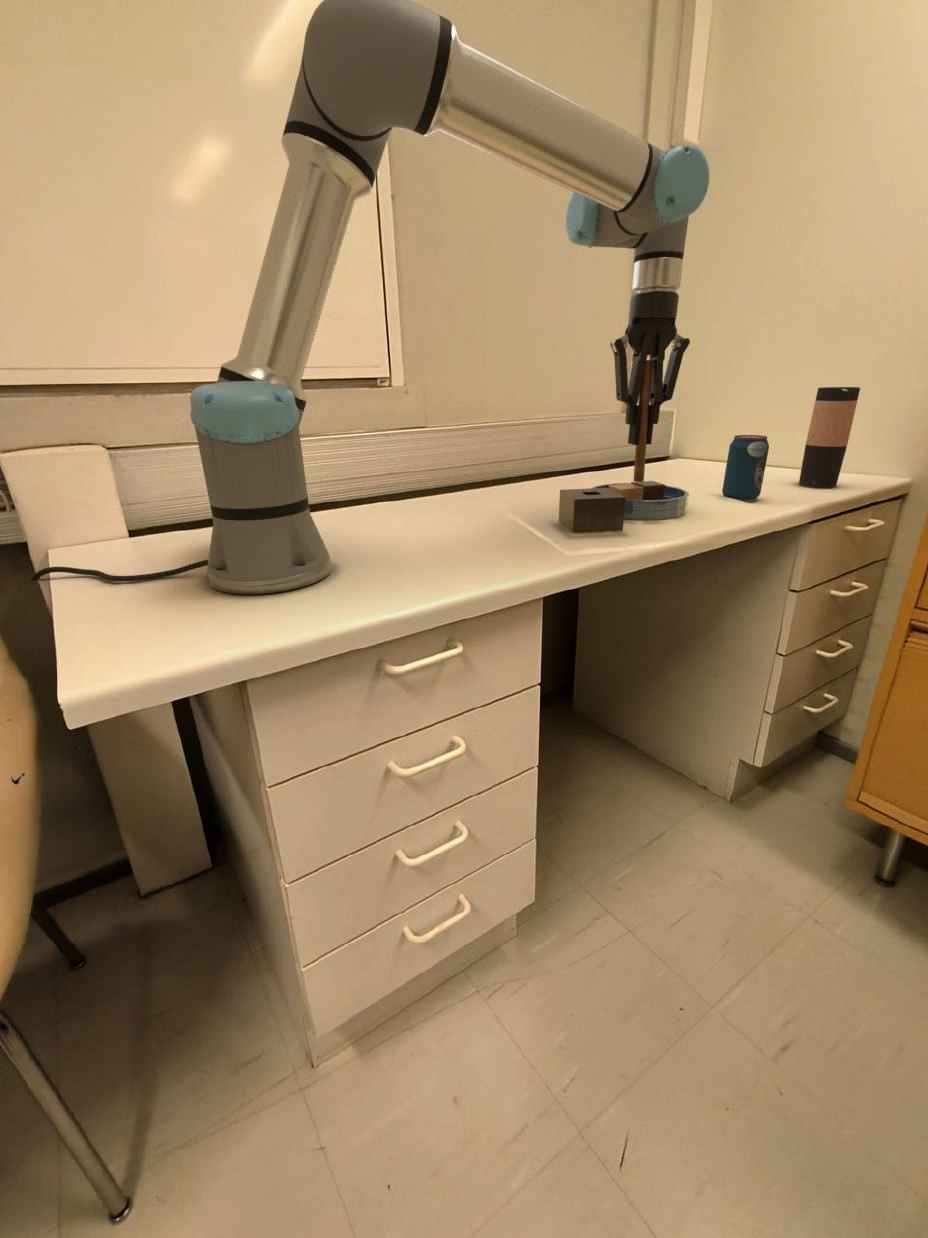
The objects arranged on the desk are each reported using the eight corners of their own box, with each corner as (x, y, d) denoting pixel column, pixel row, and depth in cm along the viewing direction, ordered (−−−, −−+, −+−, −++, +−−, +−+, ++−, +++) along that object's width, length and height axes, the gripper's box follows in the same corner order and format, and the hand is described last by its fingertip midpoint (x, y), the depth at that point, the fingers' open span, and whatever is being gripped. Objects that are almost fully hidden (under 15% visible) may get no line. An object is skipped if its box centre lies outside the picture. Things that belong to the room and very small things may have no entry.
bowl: (606, 526, 94) (608, 502, 93) (575, 505, 110) (577, 484, 108) (703, 522, 96) (707, 498, 94) (660, 501, 112) (662, 481, 110)
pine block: (618, 514, 99) (620, 489, 97) (606, 509, 103) (608, 484, 101) (641, 512, 100) (643, 487, 98) (628, 507, 104) (631, 483, 102)
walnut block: (640, 510, 101) (643, 486, 99) (628, 505, 105) (630, 482, 103) (662, 509, 102) (665, 484, 100) (649, 504, 106) (652, 480, 104)
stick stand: (572, 537, 89) (574, 499, 86) (558, 525, 96) (559, 489, 94) (622, 535, 89) (626, 497, 87) (604, 522, 97) (607, 487, 94)
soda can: (761, 503, 109) (774, 438, 104) (722, 501, 111) (733, 437, 106) (756, 496, 115) (767, 434, 110) (719, 494, 117) (729, 434, 112)
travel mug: (805, 481, 129) (826, 386, 121) (842, 485, 124) (866, 386, 116) (791, 485, 125) (811, 387, 117) (829, 489, 119) (853, 387, 111)
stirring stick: (634, 481, 101) (642, 360, 95) (632, 480, 103) (640, 361, 97) (644, 481, 101) (653, 359, 95) (642, 480, 103) (651, 361, 97)
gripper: (687, 295, 96) (669, 440, 105) (603, 296, 94) (592, 442, 103) (710, 289, 89) (688, 444, 98) (619, 289, 87) (606, 447, 97)
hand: (639, 443), depth 101 cm, fingers closed on stirring stick, 2 cm apart
